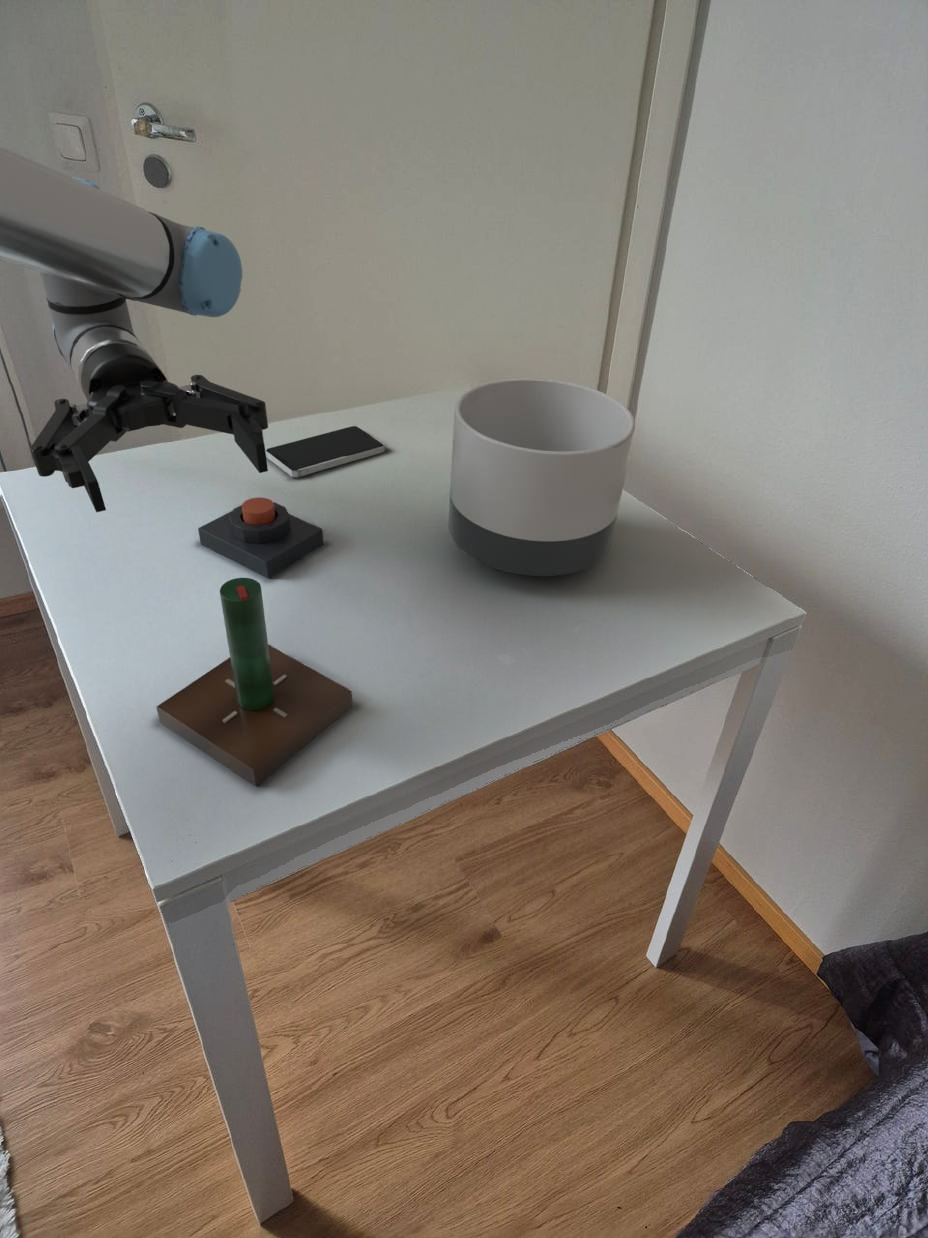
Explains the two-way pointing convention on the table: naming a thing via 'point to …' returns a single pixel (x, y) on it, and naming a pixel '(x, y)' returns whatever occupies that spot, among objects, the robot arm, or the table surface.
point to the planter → (537, 474)
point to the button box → (262, 540)
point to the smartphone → (324, 451)
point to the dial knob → (247, 642)
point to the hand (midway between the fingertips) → (183, 477)
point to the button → (258, 511)
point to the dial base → (255, 716)
